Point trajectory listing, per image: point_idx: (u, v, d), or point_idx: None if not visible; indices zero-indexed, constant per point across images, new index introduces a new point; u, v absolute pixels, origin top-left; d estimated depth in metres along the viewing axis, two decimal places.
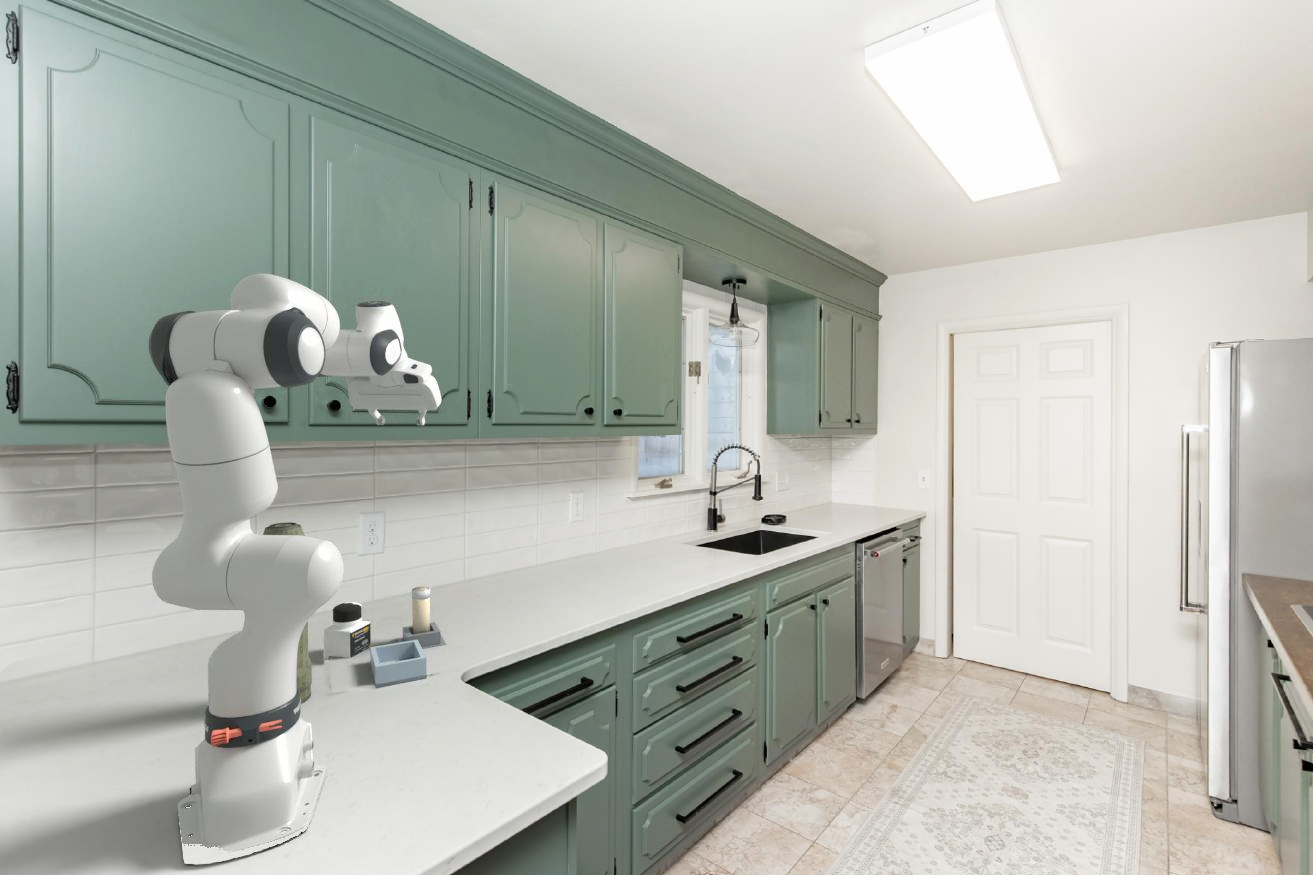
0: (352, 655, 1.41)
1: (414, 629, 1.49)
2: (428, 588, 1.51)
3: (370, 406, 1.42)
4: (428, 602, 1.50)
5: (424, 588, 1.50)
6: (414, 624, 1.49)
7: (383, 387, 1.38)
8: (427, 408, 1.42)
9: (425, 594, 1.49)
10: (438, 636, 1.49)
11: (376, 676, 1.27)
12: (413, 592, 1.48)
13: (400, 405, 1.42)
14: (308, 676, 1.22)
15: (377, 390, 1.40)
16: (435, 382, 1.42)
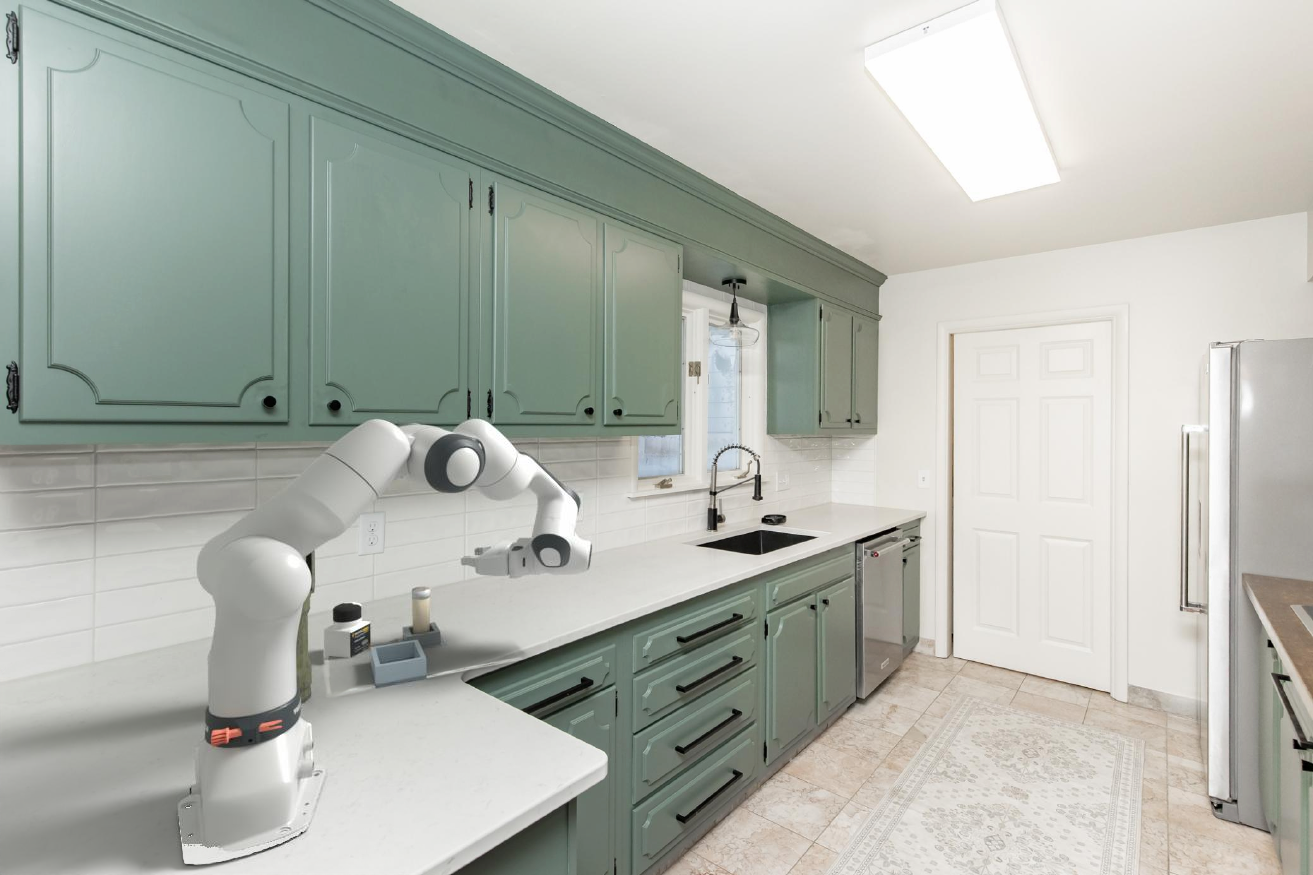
0: (352, 655, 1.41)
1: (414, 629, 1.49)
2: (428, 588, 1.51)
3: (498, 543, 1.54)
4: (428, 602, 1.50)
5: (424, 588, 1.50)
6: (414, 624, 1.49)
7: (515, 542, 1.49)
8: (479, 556, 1.41)
9: (425, 594, 1.49)
10: (438, 636, 1.49)
11: (376, 676, 1.27)
12: (413, 592, 1.48)
13: (491, 550, 1.47)
14: (308, 676, 1.22)
15: None
16: (500, 571, 1.40)
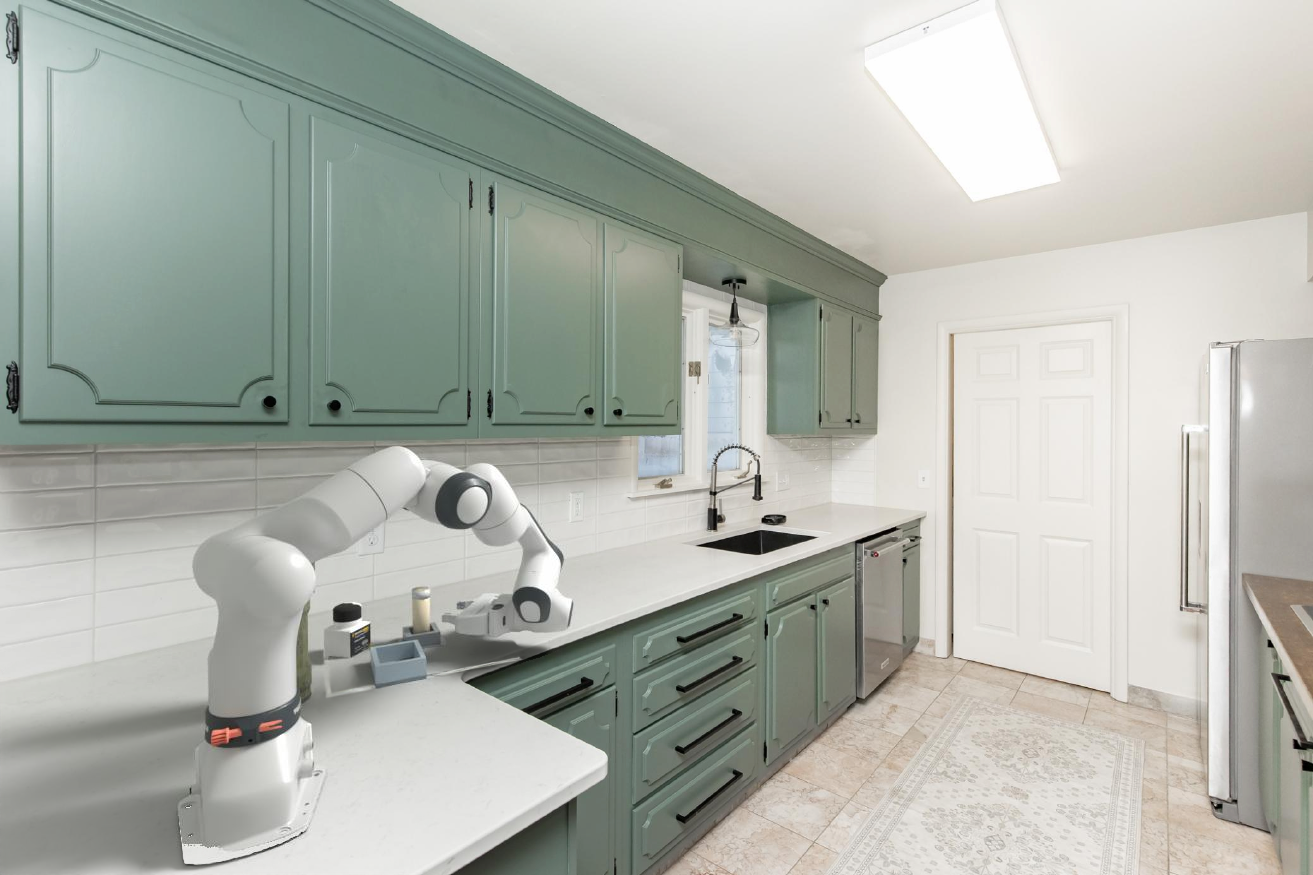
0: (352, 655, 1.41)
1: (414, 629, 1.49)
2: (428, 588, 1.51)
3: (480, 597, 1.55)
4: (428, 602, 1.50)
5: (424, 588, 1.50)
6: (414, 624, 1.49)
7: (496, 599, 1.50)
8: (460, 614, 1.42)
9: (425, 594, 1.49)
10: (438, 636, 1.49)
11: (376, 676, 1.27)
12: (413, 592, 1.48)
13: (472, 606, 1.48)
14: (308, 676, 1.22)
15: None
16: (480, 631, 1.40)
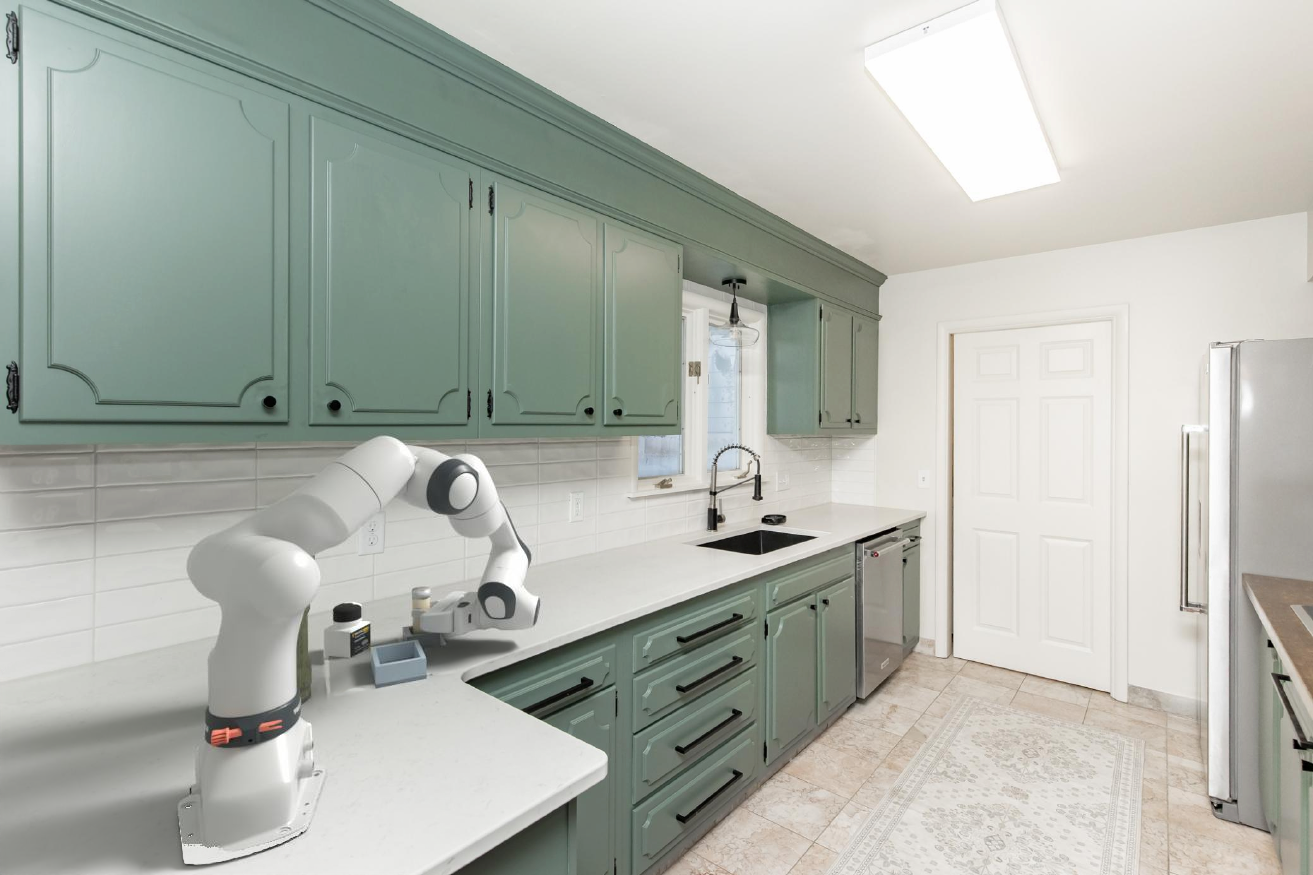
0: (352, 655, 1.41)
1: (414, 629, 1.49)
2: (428, 588, 1.51)
3: (448, 595, 1.55)
4: (428, 602, 1.50)
5: (424, 588, 1.50)
6: (414, 624, 1.49)
7: (463, 596, 1.50)
8: (425, 612, 1.42)
9: (425, 594, 1.49)
10: (438, 636, 1.49)
11: (376, 676, 1.27)
12: (413, 592, 1.48)
13: (438, 604, 1.48)
14: (308, 676, 1.22)
15: None
16: (445, 628, 1.41)
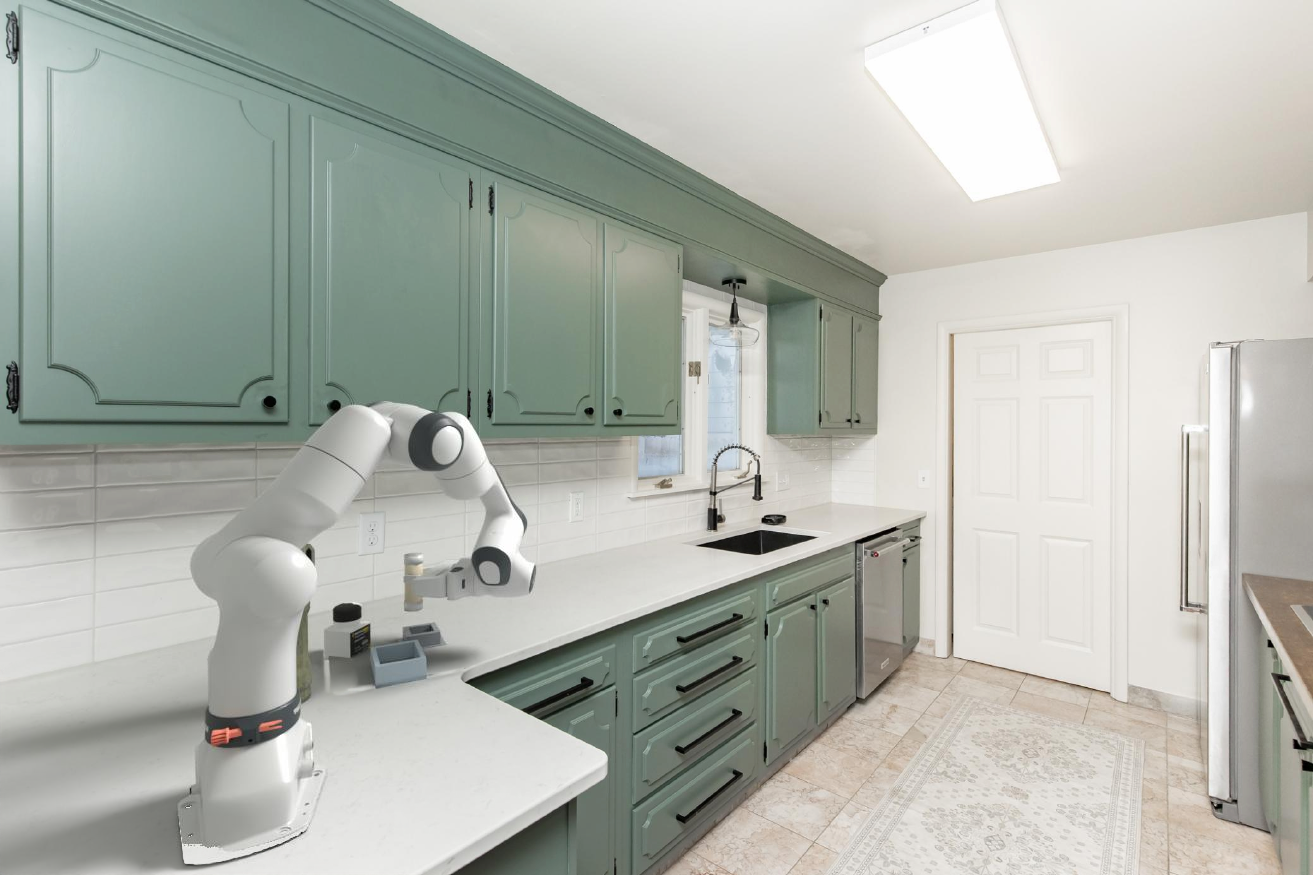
0: (352, 655, 1.41)
1: (406, 596, 1.45)
2: (421, 554, 1.46)
3: (441, 563, 1.51)
4: (421, 568, 1.46)
5: (417, 554, 1.46)
6: (407, 591, 1.44)
7: (457, 563, 1.46)
8: (417, 577, 1.38)
9: (417, 560, 1.45)
10: (438, 636, 1.49)
11: (376, 676, 1.27)
12: (405, 557, 1.44)
13: (431, 570, 1.44)
14: (308, 676, 1.22)
15: None
16: (437, 593, 1.36)
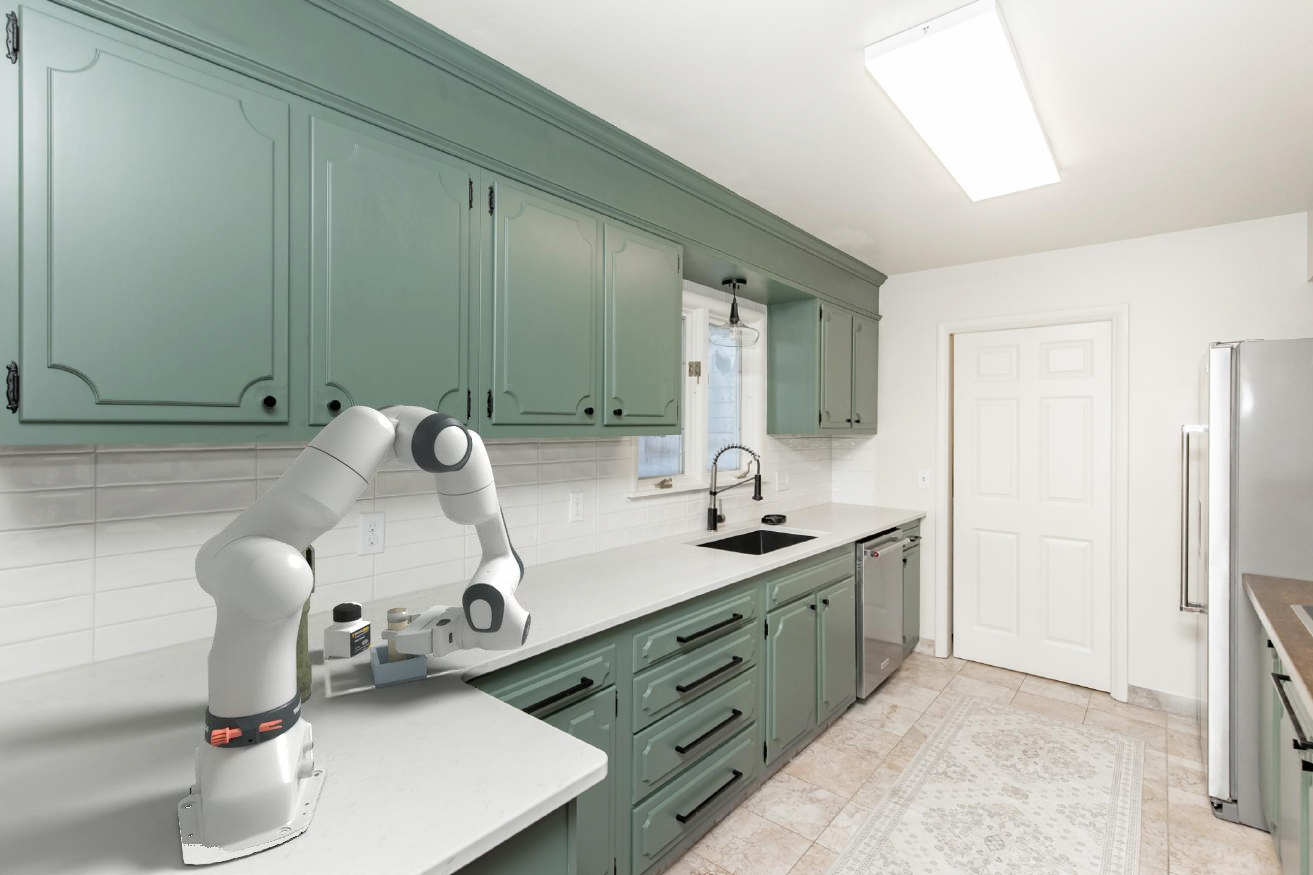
0: (352, 655, 1.41)
1: (389, 656, 1.33)
2: (405, 609, 1.35)
3: (428, 610, 1.40)
4: (405, 625, 1.34)
5: (401, 609, 1.35)
6: (390, 650, 1.33)
7: (444, 612, 1.35)
8: (400, 631, 1.27)
9: (402, 617, 1.33)
10: None
11: (376, 676, 1.27)
12: (388, 614, 1.33)
13: (416, 621, 1.33)
14: (308, 676, 1.22)
15: None
16: (422, 649, 1.25)
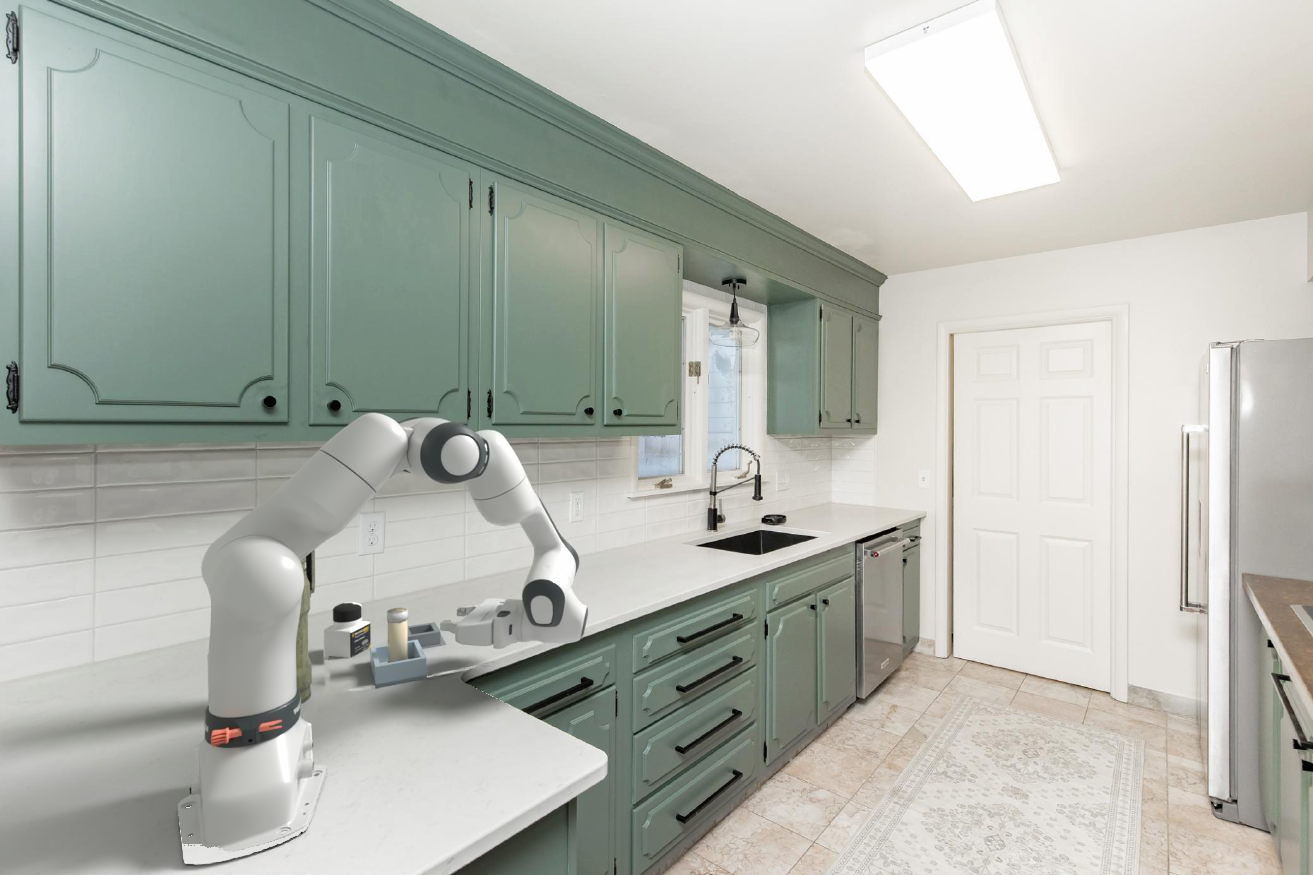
0: (352, 655, 1.41)
1: (389, 656, 1.33)
2: (405, 610, 1.35)
3: (483, 603, 1.39)
4: (405, 625, 1.34)
5: (401, 610, 1.35)
6: (390, 650, 1.33)
7: (501, 604, 1.34)
8: (461, 622, 1.26)
9: (401, 617, 1.33)
10: (438, 636, 1.49)
11: (376, 676, 1.27)
12: (388, 614, 1.33)
13: (474, 613, 1.32)
14: (308, 676, 1.22)
15: None
16: (483, 641, 1.24)
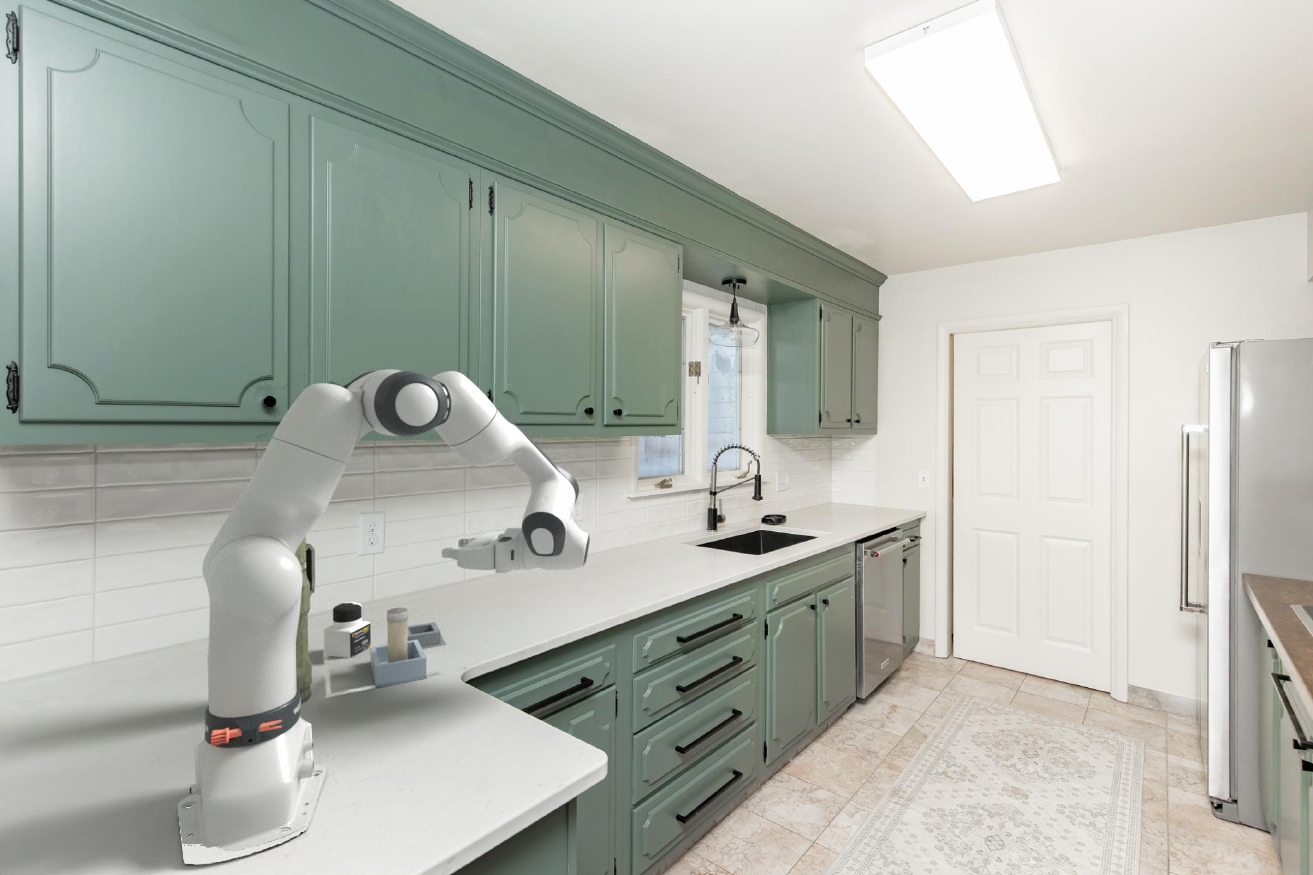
0: (352, 655, 1.41)
1: (389, 656, 1.33)
2: (405, 610, 1.35)
3: (484, 534, 1.38)
4: (405, 625, 1.34)
5: (401, 610, 1.35)
6: (390, 650, 1.33)
7: None
8: (462, 547, 1.25)
9: (401, 617, 1.33)
10: (438, 636, 1.49)
11: (376, 676, 1.27)
12: (388, 614, 1.33)
13: (476, 541, 1.31)
14: (308, 676, 1.22)
15: None
16: (485, 565, 1.23)
